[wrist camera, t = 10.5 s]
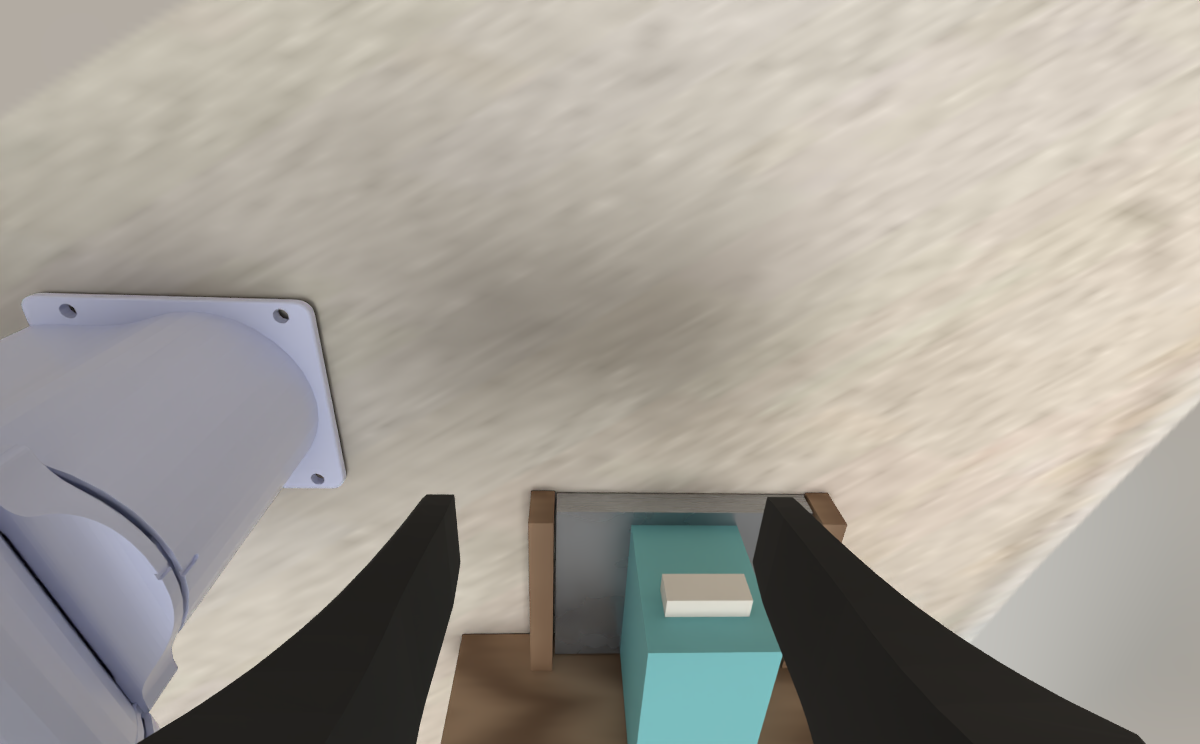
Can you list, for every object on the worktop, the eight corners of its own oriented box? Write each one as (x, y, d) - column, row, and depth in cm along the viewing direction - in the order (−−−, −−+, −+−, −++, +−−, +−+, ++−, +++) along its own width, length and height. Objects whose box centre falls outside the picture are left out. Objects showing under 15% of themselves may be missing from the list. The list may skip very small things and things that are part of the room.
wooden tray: (464, 654, 29) (440, 784, 24) (448, 490, 24) (413, 606, 19) (847, 651, 30) (906, 774, 25) (904, 493, 25) (993, 604, 20)
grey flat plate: (555, 632, 28) (554, 654, 27) (557, 493, 24) (556, 511, 23) (767, 631, 29) (774, 652, 28) (803, 494, 25) (813, 513, 24)
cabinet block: (620, 652, 27) (631, 789, 22) (632, 510, 24) (650, 636, 18) (711, 651, 28) (744, 786, 22) (739, 511, 24) (788, 635, 18)
